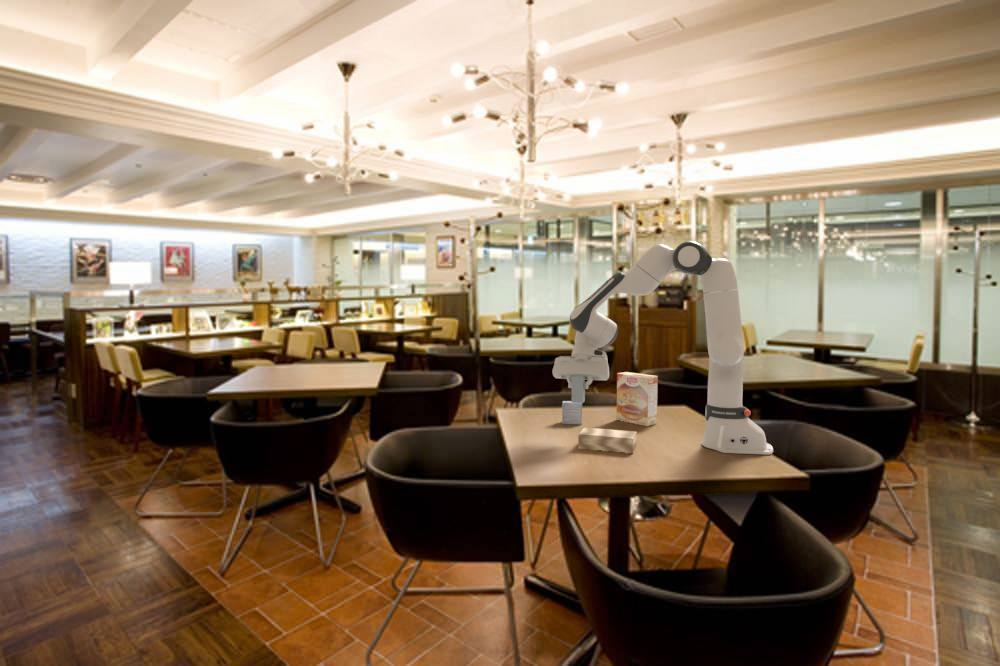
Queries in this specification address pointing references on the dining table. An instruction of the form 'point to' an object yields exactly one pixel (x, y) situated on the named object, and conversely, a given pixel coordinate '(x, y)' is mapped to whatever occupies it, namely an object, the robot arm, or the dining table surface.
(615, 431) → the block
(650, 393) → the coffeecake box
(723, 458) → the dining table surface
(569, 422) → the medicine box
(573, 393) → the pillar
